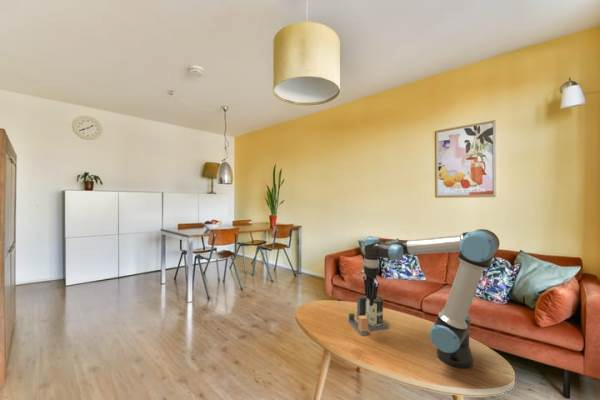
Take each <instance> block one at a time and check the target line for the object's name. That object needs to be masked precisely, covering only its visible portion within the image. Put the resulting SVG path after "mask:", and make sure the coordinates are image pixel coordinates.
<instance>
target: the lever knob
mask: <svg viewBox="0 0 600 400" xmlns="http://www.w3.org/2000/svg"><path fill="white" fill-rule="evenodd" d="M357 322H358V329H359V330H360V331H361V332H363V331H367V332H368V331H369V330H368V318H367V317H366V316H365V315H363V316H358V319H357Z"/></svg>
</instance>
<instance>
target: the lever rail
mask: <svg viewBox="0 0 600 400" xmlns="http://www.w3.org/2000/svg"><path fill="white" fill-rule="evenodd" d="M348 323H349V324H350V325H351V327H353V328H354V329H355V330H356V331H357V332H358V334H360V335H361V336H362V337H363V336H368V331H363V332H361V331H360V330H359V329H358V320H357V319H355V313H353V312H352V313H348Z"/></svg>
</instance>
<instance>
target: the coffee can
mask: <svg viewBox="0 0 600 400" xmlns="http://www.w3.org/2000/svg"><path fill="white" fill-rule="evenodd" d="M366 317H367V318H368V324H370V325H374V326H379V325H382V324H383V321H384V298H383V297H381V296H379V295H377V297H376V299H374V300H373V311H369V312H368V311H367V297H366Z"/></svg>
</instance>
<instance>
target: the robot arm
mask: <svg viewBox="0 0 600 400" xmlns="http://www.w3.org/2000/svg"><path fill="white" fill-rule="evenodd" d="M499 249H500V239H499V237H498V236H497V235H496V233H495V232H493V231H491V230H489V229H483V228H479V229H476V230H473V231H469V232H468V231H467V232H462V233H461V234H460V235H451V236H450V235H448V236H438V237H429V238H428V237H427V238H418V239H417V238H416V239H407V240H405V239H401V240H398V241H393V242H390V243H389V242H388V243H387V242H381V241H380V238H379V237H377V236H376V237H375V236H367V237H366V238H365V239H364V257H363V258H364V259H363V260H364V261H363V265H364V267H363V273H364V274H365V276H363V284H364V286H363V287H364V296H367V311H368V312H369V311H373V300H374V299H376V297H377V296H378V291H379V289H378V288H379V286H380V282H377V281H378V280H377V276H378V275H379V270H380V267H379V266H380V265H379V263H380V258H383V259H388V260H392V261H401V260H402V258H403V256H408V255H411V256H412V255H422V254H423V255H426V254H440V253H441V254H442V253H458V255H457V258H458V260H459V264H458V265H459V266H458V268H457V271H456V274H455V276H454V279H453V282H452V285H451V287H450V291H449V294H448V296H447V299H446V303H445V305H444V308H442V309H441V311H438V313H437V316H436V319H435V323H434V325H433V326H432V327H431V328H430V330H429V338H430V341H431V342H432V344H433V345H434V346H435V347H436V348H437V349H436V356H437V358H438V359H439V360H440V361H441V362H442V363H445V364H446V365H449V366H450V367H451V366H452V367H454V368H460V369H469V368H471V367H473V365H474V357H473V355H472V351H471V347H470V331H471V330H470V329H471V328H470V326H471V325H470V324H471V319H470V318H471V317H470V314H469V310H470V309H471V305H472V304H473V301H474V297H475V295H476V292H477V288H478V286H479V284H480V281H481V278H482V276H483V272H484V271H485V270H488V269H490V267H491V264H492V261H493V258H494V256H495V254H496V253H497V252H498V250H499Z"/></svg>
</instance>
